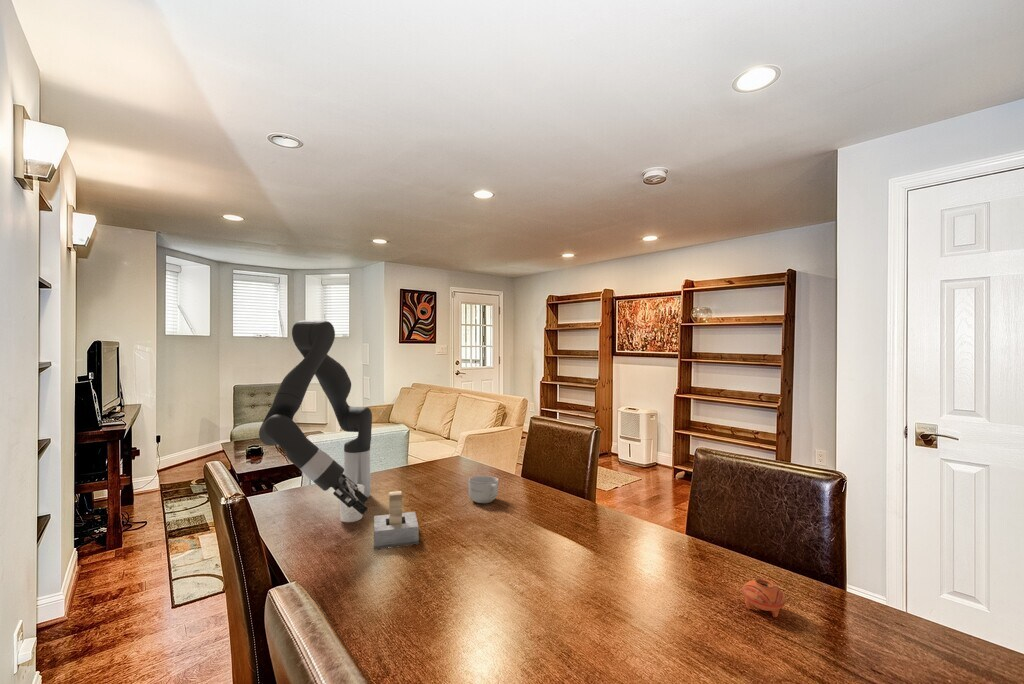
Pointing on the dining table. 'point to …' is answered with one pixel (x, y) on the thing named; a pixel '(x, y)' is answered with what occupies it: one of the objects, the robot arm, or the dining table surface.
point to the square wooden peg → (395, 508)
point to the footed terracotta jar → (763, 595)
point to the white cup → (350, 510)
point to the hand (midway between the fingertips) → (365, 506)
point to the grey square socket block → (395, 531)
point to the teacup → (483, 488)
